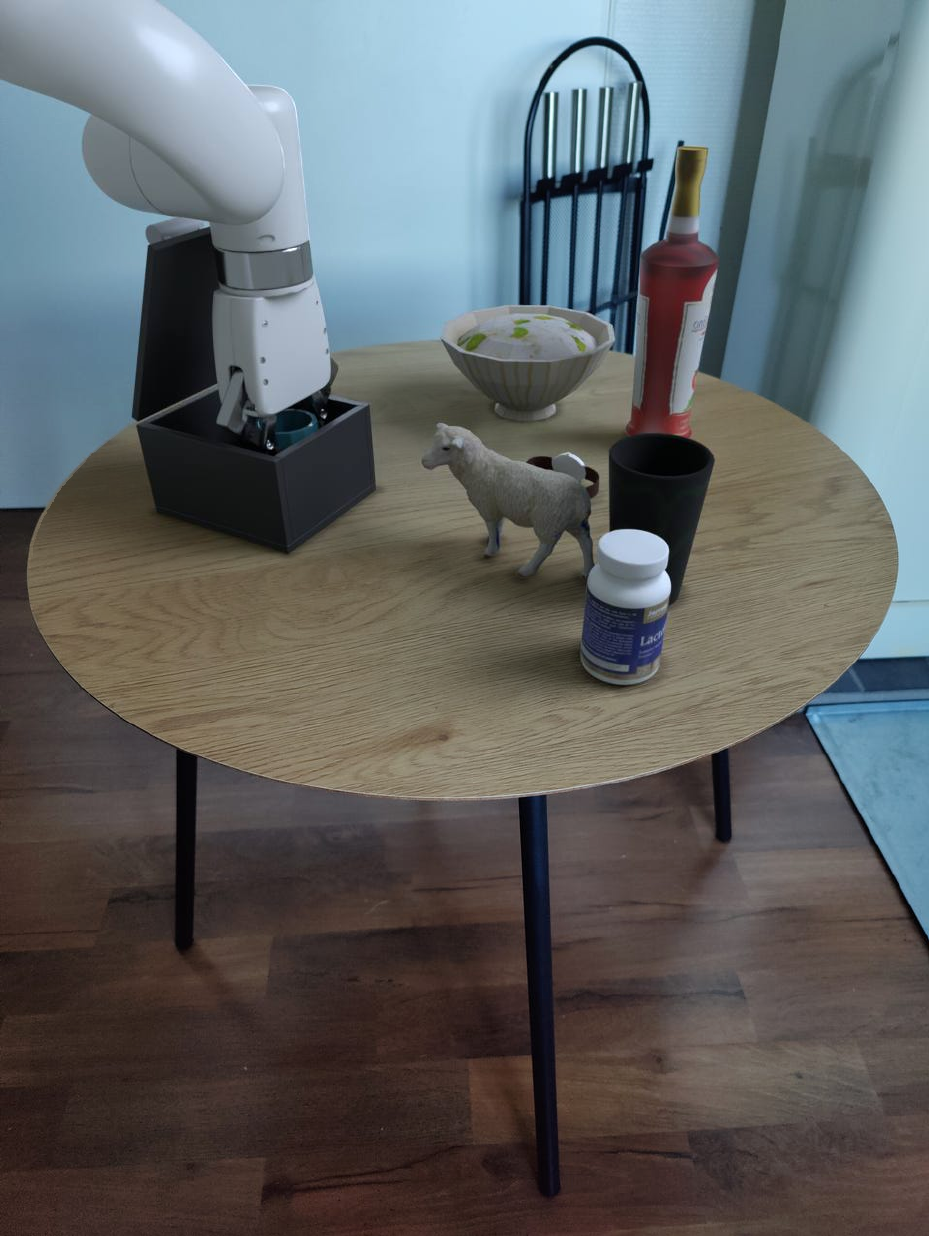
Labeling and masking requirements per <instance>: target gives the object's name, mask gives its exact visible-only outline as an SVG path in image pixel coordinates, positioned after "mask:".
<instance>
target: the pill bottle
mask: <svg viewBox="0 0 929 1236" xmlns="http://www.w3.org/2000/svg"><path fill="white" fill-rule="evenodd" d="M668 555H669V548H668V545H667V544H666V542H665V541H664V540H663V539H661V538H660V537H658V536H656V535H654V534H652V533H649V532H645V531H641V530H634V529H623V530H615V531H611V532H607V533H605V534H603V535H602V536H601V537H600V539H599V540H598V542H597V550H596V555H595V558H596V562H597V563H596V564H595V566H594V567H593V568H592V570H591V571H590V573H589V574H588V575H587V580H586V590H585V599H584V601H585V602H584V611H583V622H582V630H581V631H582V632H581V638H580V639H581V641H580V650H579V651H580V653H579V654H580V661H581V663H582V666H583V668H584V669H585V670H586V672H588V673H589V674H590V675H592V676H593V677H594V678H596V679H598V680H600V681H602V682H604V683H609V684H613V685H619V686H623V685H624V686H629V685H631V686H632V685H636V684H640V683H643V682H645V681H647V680H649V679H651V678H652V677H653V676H655V674H656V673H657V671H658V669H659V667H660V664H661V657H662V652H663V651H662V650H663V644H664V637H665V632H666V631H665V630H666V623H667V618H668V611H669V606H668V605H669V599H670V592H671V582H670V578H669V576H668V574H667V573H666V571H665V569H666V567H667V563H668Z"/></svg>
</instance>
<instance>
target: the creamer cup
mask: <svg viewBox="0 0 929 1236" xmlns="http://www.w3.org/2000/svg"><path fill="white" fill-rule="evenodd" d="M262 420H263V419H260V418H257V419H256V425H255V427H256V428H257V429H258V430H260V431H261V432H262ZM317 430H318V424H317V419H316V417H315V415H314V414H312V413H310V412H308V411H305V410H299V409H285V410H283V411H281V412H279V413H277V420H276V432H275V443H274V446H278V447H280V449H281V452H282V451H284V450H285V449H287V448H289V447H290V446H292V445H293V444H295V443H297V442H298V441H300V440H302V439H303V438H305V437H307V436H308V435H310V434H312V433H313V432H315V431H317Z"/></svg>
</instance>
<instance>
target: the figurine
mask: <svg viewBox="0 0 929 1236" xmlns="http://www.w3.org/2000/svg"><path fill="white" fill-rule="evenodd" d="M435 428H436V430H437V431H436V432H435V434H434V435H433V440H432V443H431V446H430V447H429V449H428V450H427V451H426V452H425V454H423V455H422V457H421V460H420V461H421V465H422V466H423V468H424V469H427V470H429V471H430V470H434V469H436V468H438V467H441V466H448V469H449V470H450V472H451V474H452V475H453V476H454V478H455V479H456V480H457V481H458V482H459V483H460V485H461V486H462V487H463V488H464V489H465V491H466V495H467V498H468V501H469V502H470V503H471V505H472V506H473V508H475V509H476V510H477V512H478V514H479V517H481V519H483V521H484V523H485V526H486V529H487V533H488V536H487V538H486V539H485V541H486V542H487V548H486V549H485V550H484V552H483V553H482V555H483V556H482V557H483V558H485V559H492V558H494V556H495V555H496V554H497V552H499V551H500V549H501V544H500V536H501V535H502V534H503V532H504V531H503V530H504V529H503V528H504V523H505V520H506V519H507V520H509V521H510V522H511V523H513V524H514V525H515V526H517V527H522V528H528V529H531V528H532V529H533V533H534V534H535V536H536V537H537V539H538V541H539V544H538V548H537V550H535V551H536V552H535V553H534V554H533V556H532V557H531V558H530V560H529V561H528V562H527V563H526V564H524V565H523V566H521V567H520V568H519V569H518V570H516V575H517V577H519V578H521V579H526V578H527V577H529V576H531V575H533V574H536V573H537V572H538V570H539V569H540V567H541V566H542V564H543V563H544V561H546V559H547V558H548V557H550V555H552V553H553V551H554V549H555V546H556V545H557V543H558V542H559V541H560V539H561V538H562V536H563V534H564V533H565V532H567V533H568V534H569V535H570V536H571V537H573V538H574V539H576V540H577V543H578V546H579V548H580V550H581V553H582V558H583V567H582V571H581V572H580V574H579V577H580V579H581V580H585V579H586V578H588V576H589V573H590V571H591V570H592V568H593V567H594V566H595V565H596V564H595V561H594V553H593V552H594V542H593V539H592V536H591V525H590V523H589V518H590V516H591V515H592V502H591V499H590V498H589V494H588V492H587V490H586V488H585V487H586V486H584V485H583V484H582V483H581V481H577V480H576V479H575V478H573V477H572V476H570V475H567V474H564V473H560V472H556V471H553V470H545V469H542V468H539V467H536V466H534V465H531V464H528V463H526V461H520V460H512V459H510V458H509V457H507V456H505V455H502V454H499V453H497V452H495V451H494V450H493V449H489V448H487V447H486V446H485V445H484V444H483V443H482V441H481V439H480V438H479V437H478V436H476V435H475V434H474V433H473V432H472V431H471V430H469V429H467V428H465V427H462V426H458V425H457V426H456V425H454V426H453V425H448V424H445V423H442V422H439V423H436V426H435Z"/></svg>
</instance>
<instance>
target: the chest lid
mask: <svg viewBox="0 0 929 1236" xmlns="http://www.w3.org/2000/svg"><path fill="white" fill-rule="evenodd" d="M144 233H145V238H146V240H147V243H148V245H147V248H146V249H147V251H146V260H145V269H144V280H143V291H142V302H141V313H140V324H139V335H138V345H137V354H136V355H137V356H136V364H135V365H136V367H135V376H134V387H133V397H132V408H131V418H132V419H133V420H135V421H136V422H137V423H138V422H139V423H140V422H142V421H144V420H146V419H147V418H150V417H152V416H154V415H155V414H157V413H160V412H161V411H162V412H163V410H164V411H165V410H167V409H169V408H171V407H173V406H175V405H176V404H179V403H181V402H183V401H184V400H186V399H188V398H192V396H193V397H194V395H195V396H196V395H198V394H200V393H202V392H204V391H206V390H208V389H210V388H211V387H214V386H216V385H218V383H217V376H216V367H215V358H214V346H213V326H212V313H213V295H214V291H216V290H218V289H220V286H219V280H218V275H217V268H216V262H215V256H214V250H213V242H212V236H211V230H210V225H209V226H205V221H202V220H196V219H190V218H184V217H172V218H170V219H166V220H162V221H159V222H155V223H152V224H149V225H147V226H146V228H145V232H144Z"/></svg>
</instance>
